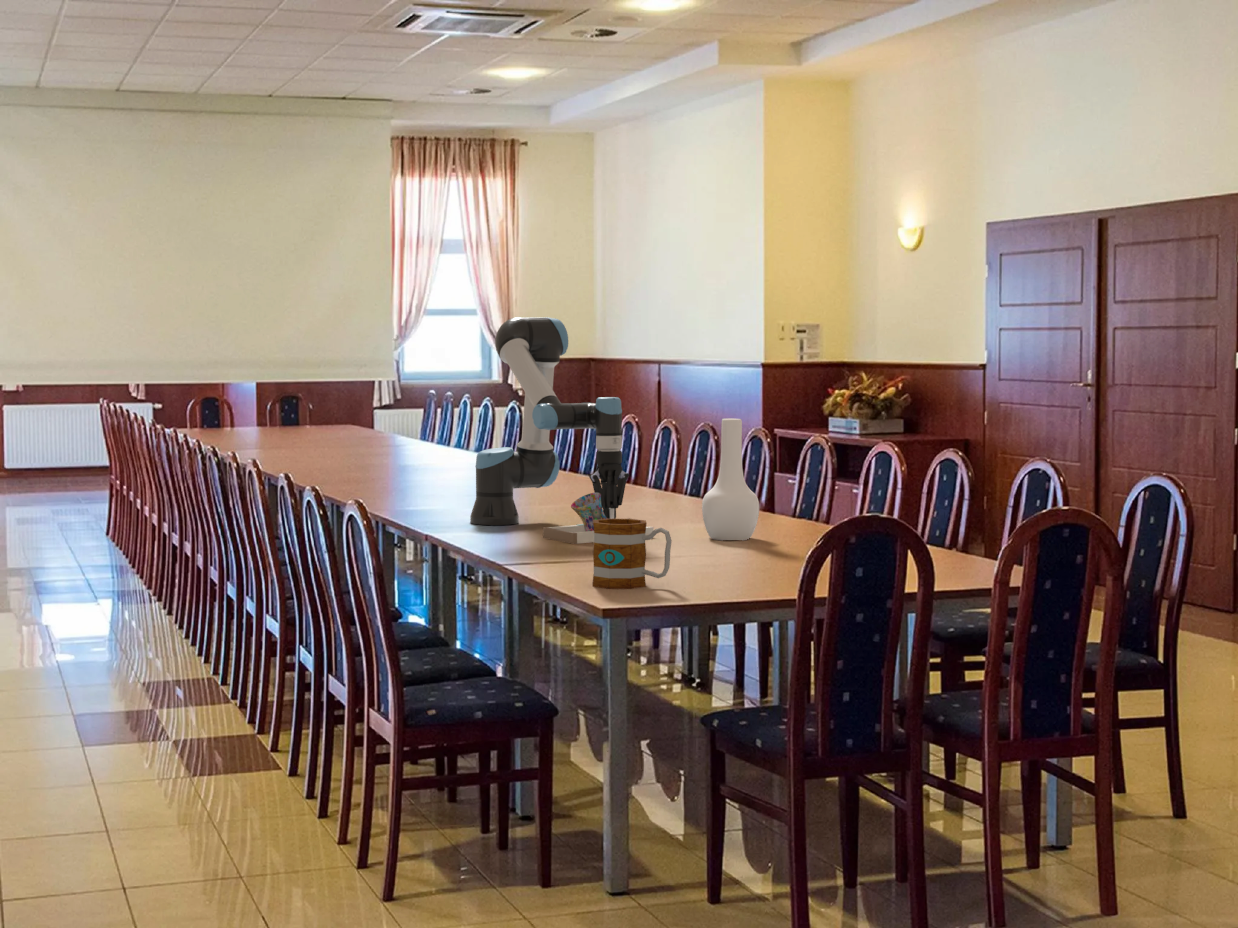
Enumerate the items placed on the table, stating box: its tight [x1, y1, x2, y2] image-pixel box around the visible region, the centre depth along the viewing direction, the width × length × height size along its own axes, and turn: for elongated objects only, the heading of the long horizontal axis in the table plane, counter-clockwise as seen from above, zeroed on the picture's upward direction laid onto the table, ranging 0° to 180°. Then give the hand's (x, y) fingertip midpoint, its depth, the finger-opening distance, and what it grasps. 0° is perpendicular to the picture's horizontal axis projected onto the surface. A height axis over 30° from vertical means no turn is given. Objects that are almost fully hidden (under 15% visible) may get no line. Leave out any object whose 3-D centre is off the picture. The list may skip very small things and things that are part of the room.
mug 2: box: [592, 518, 673, 590], centre depth 374 cm, size 20×14×15 cm
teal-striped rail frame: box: [542, 523, 655, 545], centre depth 465 cm, size 22×28×3 cm
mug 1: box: [570, 492, 607, 532], centre depth 463 cm, size 12×9×11 cm
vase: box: [701, 418, 760, 541], centre depth 464 cm, size 17×17×35 cm
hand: (609, 530), depth 467 cm, fingers closed
